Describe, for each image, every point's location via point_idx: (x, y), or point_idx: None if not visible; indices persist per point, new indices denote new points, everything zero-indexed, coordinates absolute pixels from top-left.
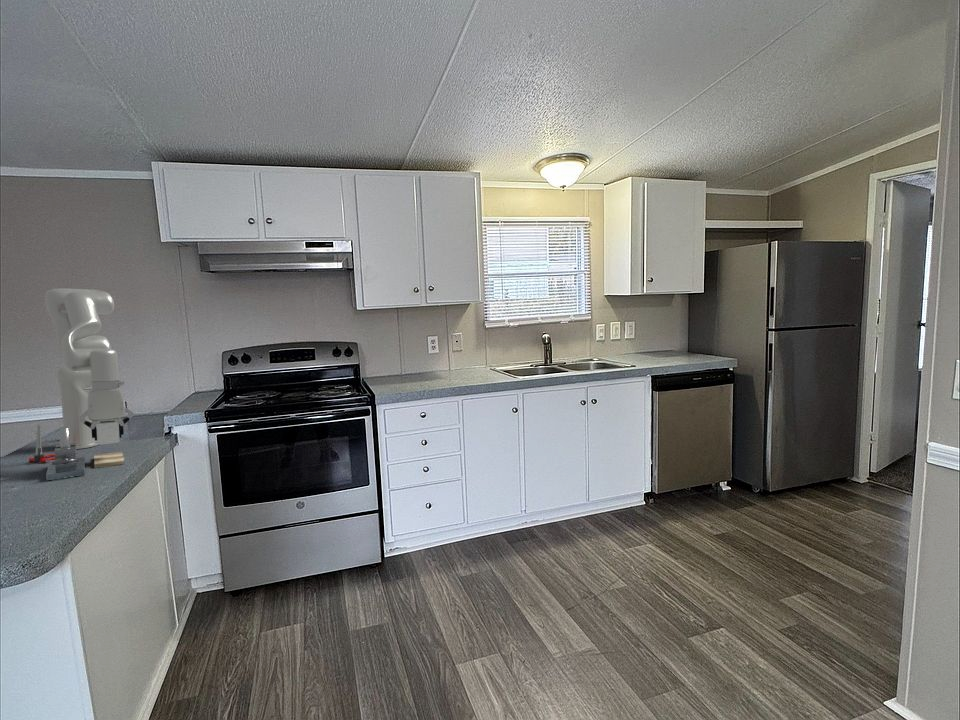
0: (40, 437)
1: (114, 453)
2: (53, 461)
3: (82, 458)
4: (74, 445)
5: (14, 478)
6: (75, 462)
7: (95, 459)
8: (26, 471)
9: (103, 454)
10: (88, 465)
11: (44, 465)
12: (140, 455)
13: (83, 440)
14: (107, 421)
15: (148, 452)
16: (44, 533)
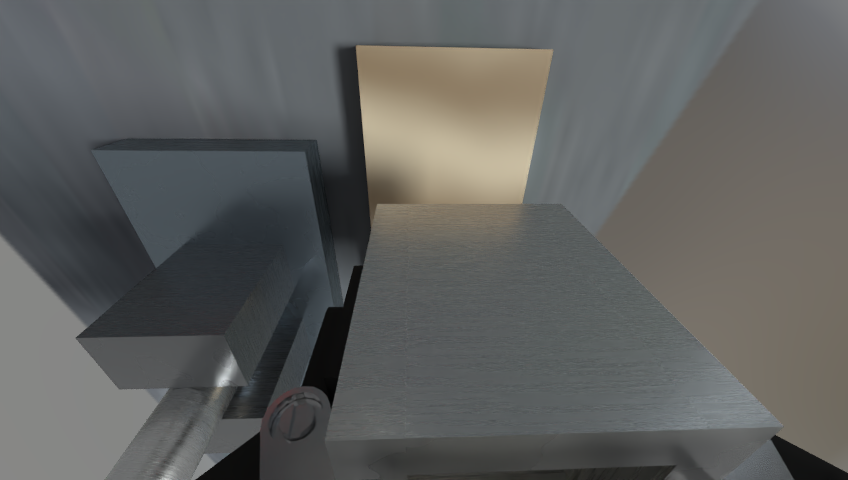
0: None
1: (494, 82)
2: (129, 177)
3: (301, 200)
4: (242, 382)
5: (66, 281)
6: (302, 369)
7: (375, 202)
8: (26, 169)
9: (421, 63)
10: (346, 225)
11: (46, 49)
12: (620, 147)
13: None
14: (543, 451)
15: (697, 81)
16: None
